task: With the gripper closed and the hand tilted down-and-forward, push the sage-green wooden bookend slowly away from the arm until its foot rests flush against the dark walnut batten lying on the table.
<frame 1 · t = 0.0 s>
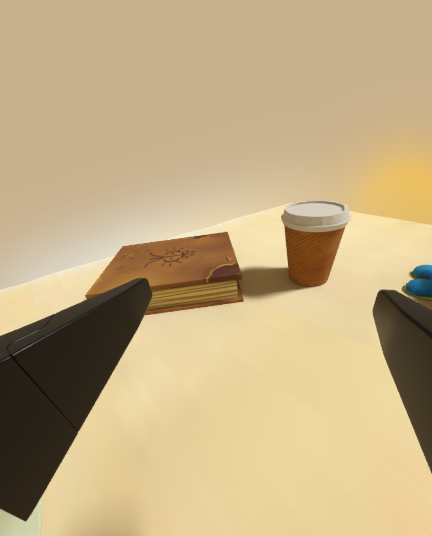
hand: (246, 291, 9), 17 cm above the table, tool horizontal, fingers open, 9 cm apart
diary: (177, 282, 43), on the table
disposable coffee cup: (307, 277, 38), on the table
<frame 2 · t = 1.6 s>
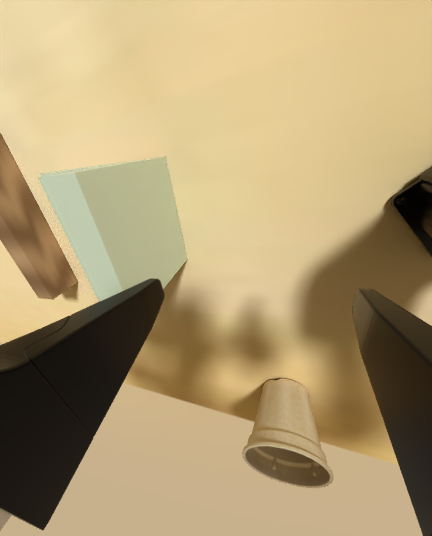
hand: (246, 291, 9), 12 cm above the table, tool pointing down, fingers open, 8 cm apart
flower pot: (285, 389, 31), on the table
board: (38, 220, 27), on the table
bookend: (127, 215, 23), on the table
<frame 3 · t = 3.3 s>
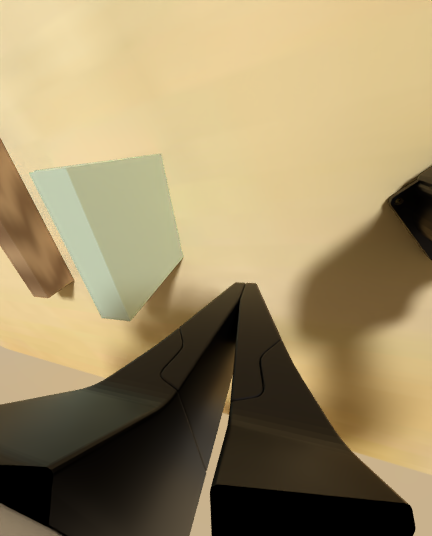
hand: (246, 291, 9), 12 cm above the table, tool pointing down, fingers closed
board: (33, 217, 26), on the table
bookend: (122, 213, 23), on the table
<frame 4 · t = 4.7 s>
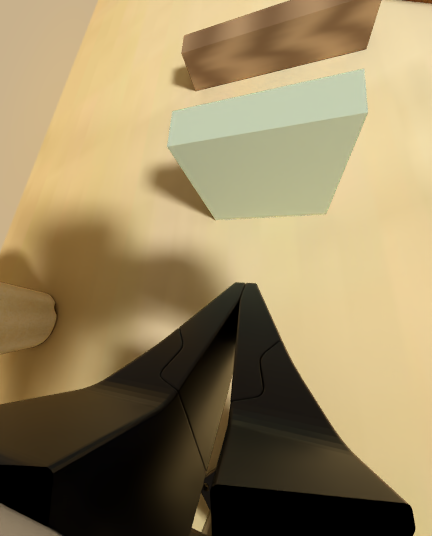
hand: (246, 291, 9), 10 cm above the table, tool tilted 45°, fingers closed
flower pot: (39, 319, 26), on the table
board: (271, 63, 24), on the table
bookend: (268, 162, 22), on the table
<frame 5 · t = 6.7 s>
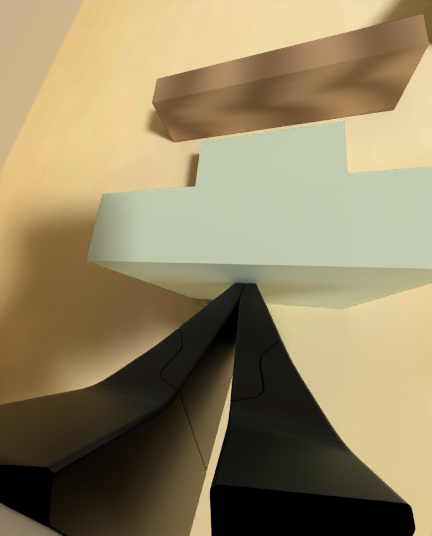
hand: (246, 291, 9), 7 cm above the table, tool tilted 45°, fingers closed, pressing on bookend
board: (269, 116, 19), on the table
bookend: (264, 224, 17), on the table, touching gripper
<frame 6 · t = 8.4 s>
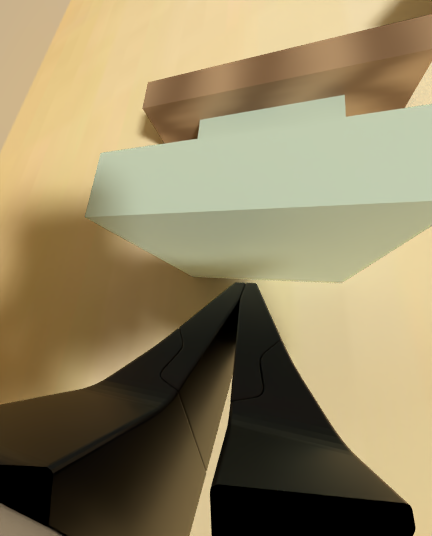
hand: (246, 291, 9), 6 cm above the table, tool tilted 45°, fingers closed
board: (267, 121, 18), on the table
bookend: (264, 202, 16), on the table
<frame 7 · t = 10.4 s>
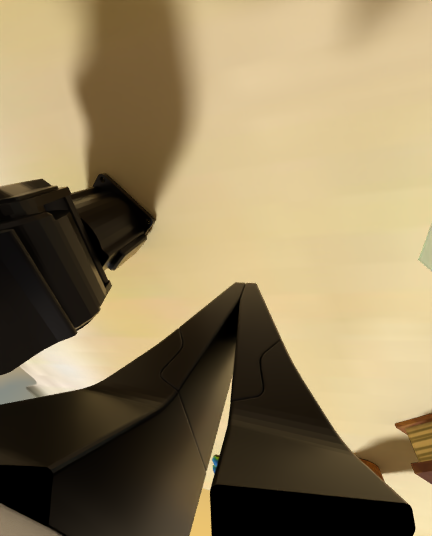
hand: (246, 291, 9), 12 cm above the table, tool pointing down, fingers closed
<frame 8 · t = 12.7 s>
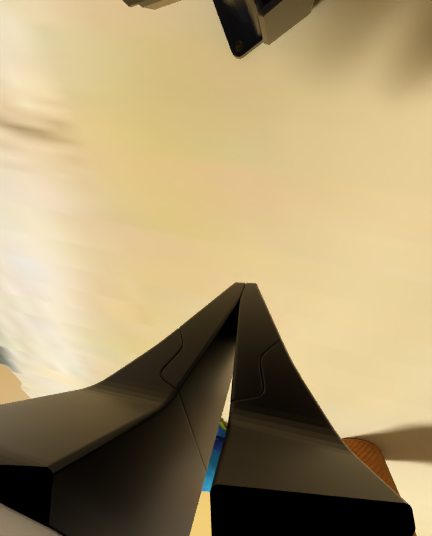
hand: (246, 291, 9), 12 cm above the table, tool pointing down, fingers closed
plush toy: (218, 435, 45), on the table
disposable coffee cup: (356, 447, 34), on the table
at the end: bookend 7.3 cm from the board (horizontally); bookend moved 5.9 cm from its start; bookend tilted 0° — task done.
